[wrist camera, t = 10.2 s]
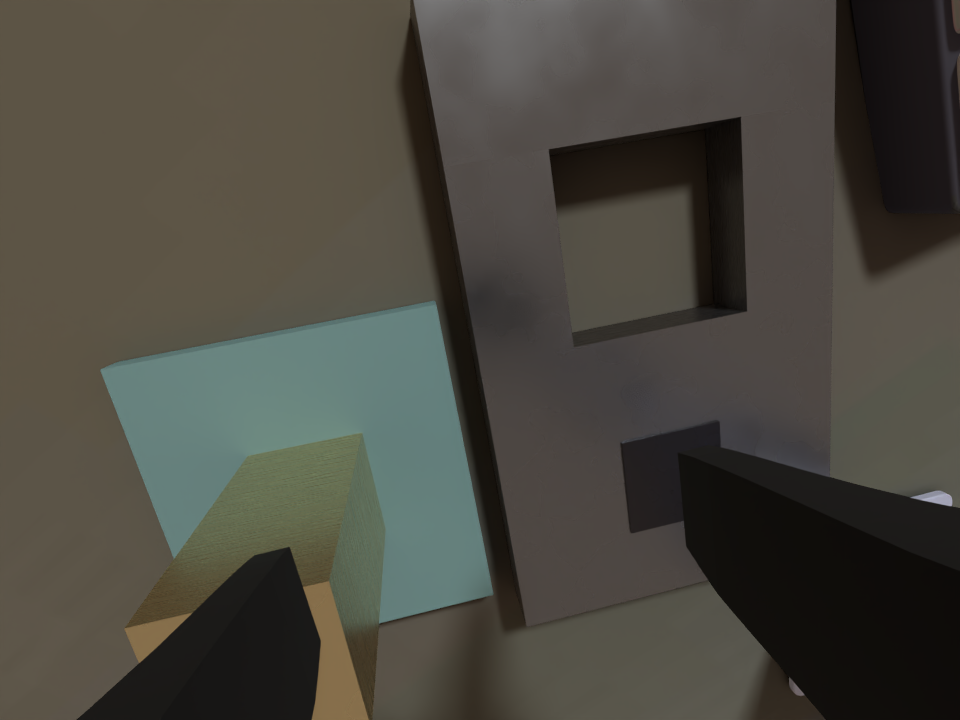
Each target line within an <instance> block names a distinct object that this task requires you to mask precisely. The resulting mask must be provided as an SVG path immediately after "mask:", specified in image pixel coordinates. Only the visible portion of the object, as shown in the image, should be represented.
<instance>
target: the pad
mask: <svg viewBox="0 0 960 720" xmlns="http://www.w3.org/2000/svg"><path fill="white" fill-rule="evenodd" d="M100 371H101V373H102V376H103V378H104V381H105V383H106V386H107V388H108V391H109V394H110V396H111V399H112V401H113V404H114V406H115V409H116V411H117V414H118V417H119V419H120V422H121V424H122V427H123V429H124V432H125V434H126V437H127V440H128V442H129V445H130V447H131V450H132V452H133V455H134V457H135V460H136V463H137V465H138V468H139V470H140V473H141V475H142V478H143V480H144V483H145V486H146V488H147V491H148V493H149V496H150V498H151V501H152V504H153V506H154V509H155V511H156V514H157V516H158V519H159V521H160V524H161V527H162V529H163V532H164V534H165V537H166V539H167V542H168V544H169V547H170V550H171V552H172V555H173V557H174V558H175V557H176V556H177V554H178V553H179V551H180V550H181V549H182V547H183V546H184V544H185V543H186V542H187V540H188V539H189V537H190V536H191V535H192V533H193V532H194V530H195V529H196V528H197V526H198V525H199V523H200V522H201V521H202V519H203V518H204V516H205V515H206V514H207V512H208V511H209V509H210V508H211V507H212V505H213V504H214V502H215V501H216V500H217V498H218V497H219V495H220V494H221V493H222V491H223V490H224V488H225V487H226V486H227V484H228V483H229V481H230V480H231V479H232V477H233V476H234V474H235V473H236V472H237V470H238V469H239V467H240V466H241V465H242V463H243V462H244V460H245V459H246V458H247V456H250V455H255V454H260V453H265V452H269V451H274V450H279V449H284V448H289V447H294V446H299V445H303V444H308V443H313V442H318V441H323V440H328V439H333V438H338V437H342V436H347V435H352V434H357V433H362V434H363V438H364V442H365V446H366V450H367V455H368V459H369V463H370V467H371V471H372V475H373V479H374V483H375V487H376V491H377V496H378V500H379V504H380V508H381V512H382V516H383V520H384V524H385V528H386V533H385V547H384V561H383V575H382V589H381V603H380V617H379V623H382V622H386V621H390V620H394V619H398V618H402V617H406V616H410V615H414V614H418V613H422V612H426V611H430V610H434V609H438V608H442V607H446V606H450V605H454V604H458V603H462V602H466V601H470V600H474V599H478V598H482V597H486V596H490V595H494V594H493V589H492V584H491V579H490V574H489V569H488V564H487V559H486V554H485V549H484V544H483V539H482V534H481V529H480V524H479V519H478V513H477V508H476V503H475V498H474V493H473V488H472V483H471V478H470V473H469V468H468V463H467V458H466V453H465V448H464V443H463V438H462V433H461V428H460V423H459V418H458V412H457V407H456V402H455V397H454V392H453V387H452V382H451V377H450V372H449V367H448V362H447V357H446V352H445V347H444V342H443V337H442V332H441V327H440V322H439V317H438V311H437V306H436V303H435V301H431V302H426V303H420V304H415V305H410V306H405V307H400V308H395V309H389V310H384V311H379V312H374V313H369V314H364V315H358V316H353V317H348V318H343V319H338V320H332V321H327V322H322V323H317V324H312V325H307V326H301V327H296V328H291V329H286V330H281V331H276V332H270V333H265V334H260V335H255V336H250V337H245V338H239V339H234V340H229V341H224V342H219V343H213V344H208V345H203V346H198V347H193V348H188V349H182V350H177V351H172V352H167V353H162V354H157V355H151V356H146V357H141V358H136V359H131V360H126V361H120V362H116V363H114V364H112V365H110V366H107V367H105V368H103V369H101V370H100Z"/></svg>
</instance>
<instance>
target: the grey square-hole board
mask: <svg viewBox="0 0 960 720" xmlns="http://www.w3.org/2000/svg"><path fill="white" fill-rule="evenodd" d="M410 17H411V22H412V27H413V33H414V38H415V44H416V49H417V55H418V60H419V66H420V71H421V77H422V82H423V87H424V93H425V98H426V104H427V109H428V115H429V120H430V126H431V131H432V136H433V142H434V147H435V153H436V158H437V164H438V169H439V175H440V180H441V186H442V191H443V196H444V202H445V207H446V213H447V218H448V224H449V229H450V235H451V240H452V245H453V251H454V256H455V262H456V267H457V273H458V278H459V284H460V289H461V295H462V300H463V305H464V311H465V316H466V322H467V327H468V333H469V338H470V344H471V349H472V354H473V360H474V365H475V371H476V376H477V382H478V387H479V393H480V398H481V404H482V409H483V414H484V420H485V425H486V431H487V436H488V442H489V447H490V453H491V458H492V463H493V469H494V474H495V480H496V485H497V491H498V496H499V502H500V507H501V513H502V518H503V523H504V529H505V534H506V540H507V545H508V551H509V556H510V562H511V567H512V572H513V578H514V583H515V589H516V593H517V597H518V600H519V603H520V607H521V610H522V613H523V616H524V620H525V623H526V626H527V627H529V626H533V625H537V624H541V623H545V622H549V621H552V620H556V619H560V618H564V617H568V616H572V615H576V614H580V613H583V612H587V611H591V610H595V609H599V608H603V607H607V606H611V605H614V604H618V603H622V602H626V601H630V600H634V599H638V598H642V597H646V596H649V595H653V594H657V593H661V592H665V591H669V590H673V589H677V588H680V587H684V586H688V585H692V584H696V583H700V582H704V581H708V579H707V578H706V576H705V575H704V573H703V572H702V570H701V569H700V567H699V566H698V564H697V562H696V561H695V559H694V558H693V556H692V555H691V553H690V552H689V550H688V549H687V547H686V540H685V529H684V518H683V507H682V496H681V484H680V473H679V462H678V452H682V451H686V450H690V449H694V448H699V447H703V446H707V445H711V446H716V447H721V448H726V449H730V450H734V451H738V452H742V453H746V454H749V455H753V456H756V457H760V458H764V459H767V460H771V461H774V462H778V463H781V464H785V465H788V466H792V467H795V468H799V469H802V470H806V471H809V472H813V473H816V474H820V475H823V476H827V477H830V423H831V349H832V275H833V201H834V127H835V53H836V0H411V1H410ZM703 129H705V130H706V150H707V171H708V191H709V211H710V231H711V251H712V272H713V292H714V304H711V305H706V306H701V307H696V308H692V309H687V310H682V311H677V312H672V313H667V314H662V315H657V316H652V317H648V318H643V319H638V320H633V321H628V322H623V323H618V324H613V325H608V326H604V327H599V328H594V329H589V330H584V331H579V332H574V333H572V329H571V322H570V314H569V306H568V298H567V290H566V282H565V274H564V267H563V259H562V251H561V243H560V235H559V227H558V219H557V212H556V204H555V196H554V188H553V180H552V172H551V165H550V157H549V156H550V155H556V154H562V153H568V152H574V151H580V150H586V149H591V148H597V147H603V146H609V145H615V144H621V143H627V142H633V141H639V140H644V139H650V138H656V137H662V136H668V135H674V134H680V133H686V132H691V131H697V130H703Z"/></svg>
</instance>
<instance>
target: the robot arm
mask: <svg viewBox="0 0 960 720" xmlns="http://www.w3.org/2000/svg"><path fill="white" fill-rule="evenodd" d="M678 462H679V473H680V484H681V496H682V507H683V518H684V529H685V540H686V547H687V549H688V550H689V552H690V553H691V555H692V556H693V558H694V559H695V561H696V562H697V564H698V566H699V567H700V569H701V570H702V572H703V573H704V575H705V576H706V578H707V579H708V581H709V582H710V583H711V585H712V586H713V588H714V589H715V591H716V592H717V594H718V595H719V596H720V597H721V598H722V600H723V601H724V602H725V603H726V604H727V606H728V607H729V608H730V609H731V610H732V611H733V613H734V614H735V615H736V616H737V617H738V618H739V620H740V621H741V622H742V623H743V624H744V625H745V627H746V628H747V629H748V630H749V631H750V632H751V634H752V635H753V636H754V637H755V638H756V639H757V641H758V642H759V643H760V644H761V645H762V646H763V647H764V649H765V650H766V651H767V652H768V653H769V654H770V655H771V657H772V658H773V659H774V660H775V661H776V662H777V663H778V665H779V666H780V667H781V668H782V669H783V670H784V672H785V673H786V674H787V675H788V676H789V686H790V688H791V690H792V691H793V692H794V693H795V694H796V695H799V696H803V695H805V696H806V697H807V698H808V699H809V700H810V701H811V703H812V704H813V705H814V706H815V707H816V708H817V709H818V711H819V712H820V713H821V714H822V716H823V717H824V718H825V719H826V720H960V508H957V507H952V498H951V496H950V495H948V494H946V493H944V492H942V491H934V492H930V493H926V494H922V495H918V496H914V497H906V496H902V495H898V494H894V493H889V492H885V491H881V490H877V489H873V488H869V487H865V486H861V485H857V484H853V483H849V482H846V481H842V480H838V479H834V478H831V477H827V476H823V475H820V474H816V473H813V472H809V471H806V470H802V469H799V468H795V467H792V466H788V465H785V464H781V463H778V462H774V461H771V460H767V459H764V458H760V457H756V456H753V455H749V454H746V453H742V452H738V451H734V450H730V449H726V448H721V447H716V446H711V445H707V446H703V447H699V448H694V449H690V450H686V451H682V452H678ZM320 648H321V640H320V637H319V634H318V631H317V628H316V625H315V622H314V619H313V616H312V613H311V610H310V607H309V604H308V601H307V598H306V595H305V592H304V589H303V586H302V582H301V579H300V576H299V573H298V570H297V567H296V564H295V561H294V558H293V555H292V552H291V549H290V547H286V548H282V549H278V550H274V551H270V552H266V553H262V554H257V555H254V556H253V557H252V558H250V559H249V560H248V561H247V562H246V563H244V564H243V565H242V566H241V567H240V568H239V569H238V570H237V571H235V572H234V573H233V574H232V575H231V576H230V577H229V578H228V579H227V580H226V581H225V582H224V583H223V584H222V585H221V586H220V587H219V588H218V589H217V590H216V591H215V592H213V593H212V594H211V595H210V596H209V597H208V598H207V599H206V600H205V601H204V602H203V603H202V604H201V605H200V606H199V607H198V608H197V609H196V610H195V611H194V612H193V613H192V614H191V615H190V616H189V617H188V618H187V619H186V620H185V621H184V622H183V623H182V624H180V625H179V626H178V627H177V628H176V629H175V630H174V631H173V632H172V633H171V634H170V635H169V636H168V637H167V638H166V639H165V640H164V641H163V642H162V643H161V644H160V645H159V646H158V647H157V648H156V649H154V650H153V651H152V652H151V653H150V654H149V655H148V656H147V657H146V658H145V659H143V660H142V661H141V662H140V663H139V664H138V665H137V666H136V667H135V668H134V669H132V670H131V671H130V672H129V673H128V674H127V675H126V676H125V677H124V678H123V679H121V680H120V681H119V682H118V683H117V684H116V685H115V686H114V687H113V688H112V689H110V690H109V691H108V692H107V693H106V694H105V695H104V696H103V697H102V698H101V699H99V700H98V701H97V702H96V703H95V704H94V705H93V706H92V707H91V708H90V709H88V710H87V711H86V712H85V713H84V714H83V715H81V716H80V717H79V718H78V719H77V720H312V716H313V711H314V706H315V700H316V690H317V681H318V672H319V660H320Z"/></svg>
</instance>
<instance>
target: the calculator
mask: <svg viewBox="0 0 960 720" xmlns="http://www.w3.org/2000/svg"><path fill="white" fill-rule="evenodd" d="M851 3H852V11H853V18H854V25H855V32H856V39H857V47H858V54H859V61H860V68H861V75H862V82H863V89H864V95H865V101H866V107H867V113H868V118H869V124H870V129H871V135H872V140H873V146H874V151H875V157H876V162H877V167H878V173H879V178H880V184H881V189H882V194H883V200H884V204H885V208H886V209H887V211H889V212H891V213H940V214H958V213H960V0H851Z"/></svg>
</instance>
